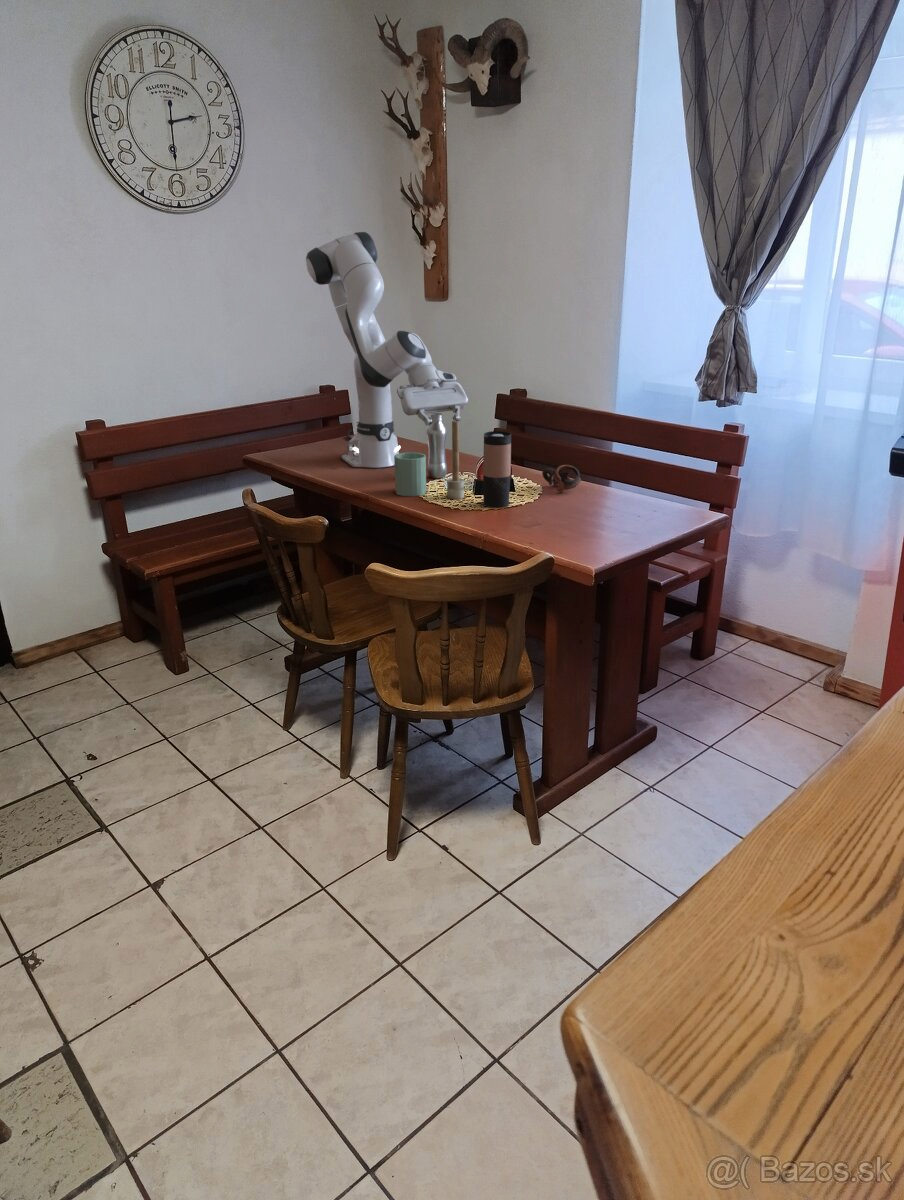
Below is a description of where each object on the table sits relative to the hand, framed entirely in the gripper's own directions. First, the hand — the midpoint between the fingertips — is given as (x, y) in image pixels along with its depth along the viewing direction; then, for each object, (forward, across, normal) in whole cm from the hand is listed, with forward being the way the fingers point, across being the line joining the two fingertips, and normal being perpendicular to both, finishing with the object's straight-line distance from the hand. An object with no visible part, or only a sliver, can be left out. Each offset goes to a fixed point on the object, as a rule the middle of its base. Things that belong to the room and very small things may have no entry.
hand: (443, 422), depth 233 cm
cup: (+10, -8, +19) cm, 23 cm away
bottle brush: (+18, +1, +11) cm, 22 cm away
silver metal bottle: (+2, +7, +27) cm, 28 cm away
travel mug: (+28, +6, +3) cm, 28 cm away
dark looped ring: (+25, +32, +5) cm, 41 cm away
